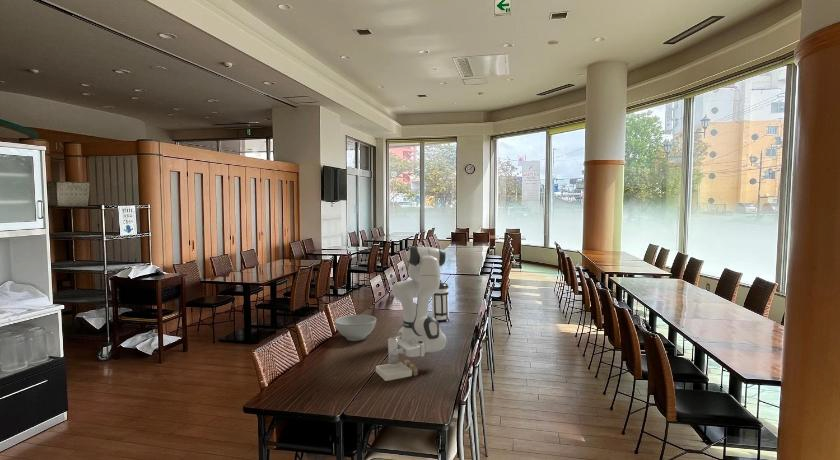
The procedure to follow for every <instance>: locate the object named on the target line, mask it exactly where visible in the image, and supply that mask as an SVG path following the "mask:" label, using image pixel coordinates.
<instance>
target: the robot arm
mask: <svg viewBox="0 0 840 460" xmlns="http://www.w3.org/2000/svg"><path fill="white" fill-rule="evenodd" d="M446 258H447V257H446V252H445V250H444V249H443V248H439V247H433V246H415V245H414V246H410V247H409V248H408V250H407V252H406V260H407V263H408V264H409V265H408V269H407V275H408V277H409V278H410V279H408V280H400V281H398V282H397V281H396V282H395V283H393V285H392V287H391V293H392V296H393V297H394V298H395V299H396V300H397V301H398V302H400V304H401V307H402V311H403V312H402V313H403V320H402V327H400V328H399V330H398V331H397V333H396V334H397V336H395V338H398V349H394V350H393V351H394V353H395V354H396V353H398V354H404V355H405V356H406V357H407V358H416V357H425V354H426V353H435V352H438V351H441V350H443V349H445V347H446V345H447V336H446V335H445V333H444V332H443V331H442V329H441V327H440V322H439V320H437V319H436V318H434V317H432V316H429V315H428V313H429V303H430V300H431V299H432V296H433V295H434V294H435V293H436V292H437V291H438V289H439V286H440V280H441V268H440V267H442V266H444V264H445V263H446ZM414 298H415V299H416V298H417V301H416V302H415V301H414ZM427 315H428V316H429V317H427Z"/></svg>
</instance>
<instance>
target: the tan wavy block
mask: <svg viewBox="0 0 840 460" xmlns="http://www.w3.org/2000/svg"><path fill="white" fill-rule="evenodd" d="M402 363H403V364H405V365H406V366H407V367H409V368H410V369H411V370H412V376H418V372H419V371H418V367H417V365H415V364H414V363H413V362H411V361H410V360H409V359H407V358H403V359H402Z"/></svg>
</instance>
